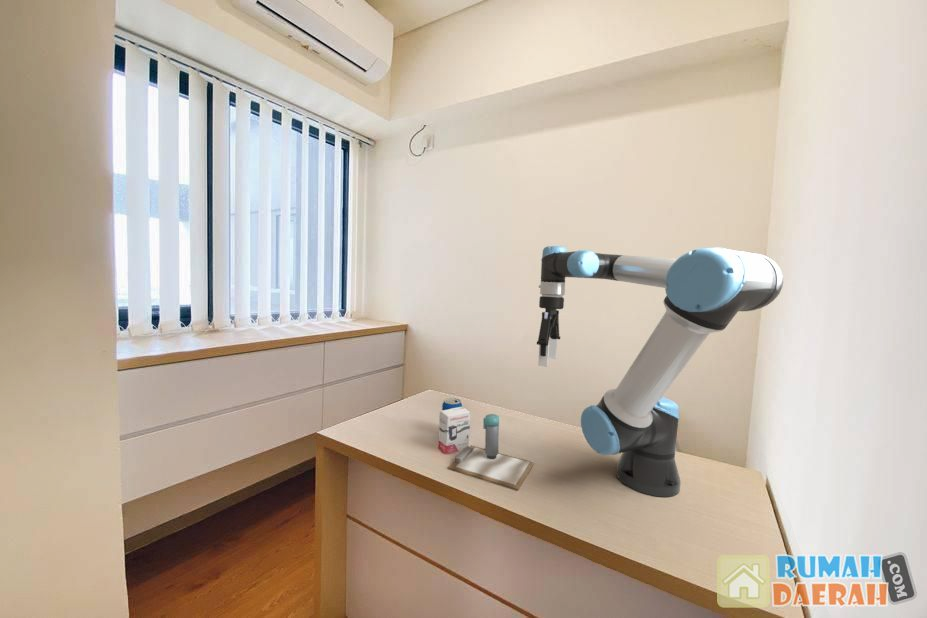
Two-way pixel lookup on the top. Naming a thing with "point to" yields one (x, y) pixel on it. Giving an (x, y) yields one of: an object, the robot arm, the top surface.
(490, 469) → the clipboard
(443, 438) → the ink box
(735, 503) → the top surface
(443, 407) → the beverage can
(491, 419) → the marker
